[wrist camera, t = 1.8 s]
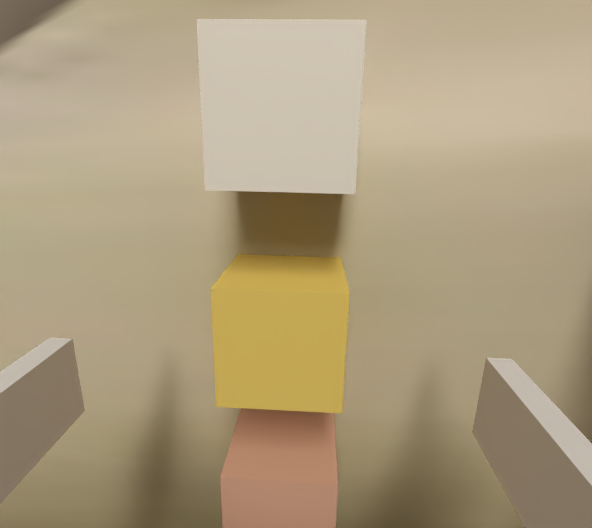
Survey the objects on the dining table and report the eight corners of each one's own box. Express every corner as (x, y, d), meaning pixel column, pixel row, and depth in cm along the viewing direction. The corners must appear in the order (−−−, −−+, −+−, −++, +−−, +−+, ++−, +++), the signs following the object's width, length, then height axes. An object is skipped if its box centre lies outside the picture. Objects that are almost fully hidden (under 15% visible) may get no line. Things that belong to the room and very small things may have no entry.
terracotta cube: (329, 479, 22) (332, 571, 17) (244, 474, 22) (224, 563, 17) (333, 407, 20) (338, 484, 16) (242, 402, 21) (220, 477, 16)
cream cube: (344, 182, 17) (355, 194, 12) (235, 180, 17) (204, 190, 12) (351, 61, 16) (366, 19, 11) (232, 60, 16) (196, 18, 11)
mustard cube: (335, 349, 19) (342, 413, 15) (240, 345, 20) (216, 406, 15) (340, 257, 18) (349, 294, 13) (238, 253, 18) (210, 288, 13)
